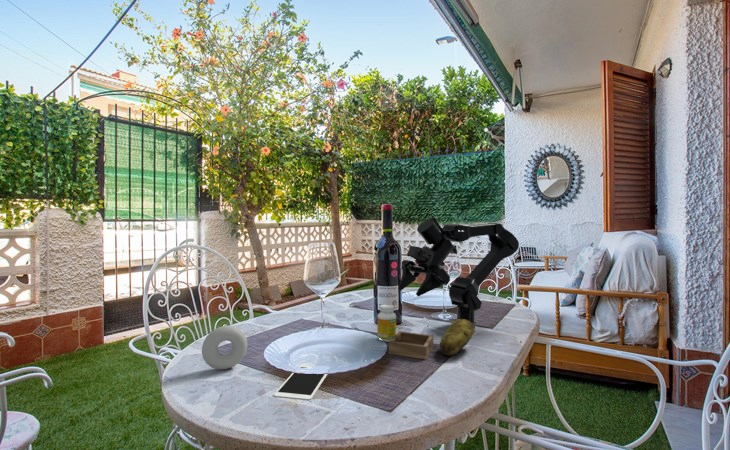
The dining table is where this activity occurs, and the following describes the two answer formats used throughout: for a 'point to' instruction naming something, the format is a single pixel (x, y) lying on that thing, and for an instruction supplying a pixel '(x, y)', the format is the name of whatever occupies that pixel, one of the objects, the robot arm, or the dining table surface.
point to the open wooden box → (411, 345)
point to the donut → (212, 343)
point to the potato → (456, 336)
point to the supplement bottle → (386, 323)
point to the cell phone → (301, 385)
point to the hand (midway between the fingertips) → (407, 292)
